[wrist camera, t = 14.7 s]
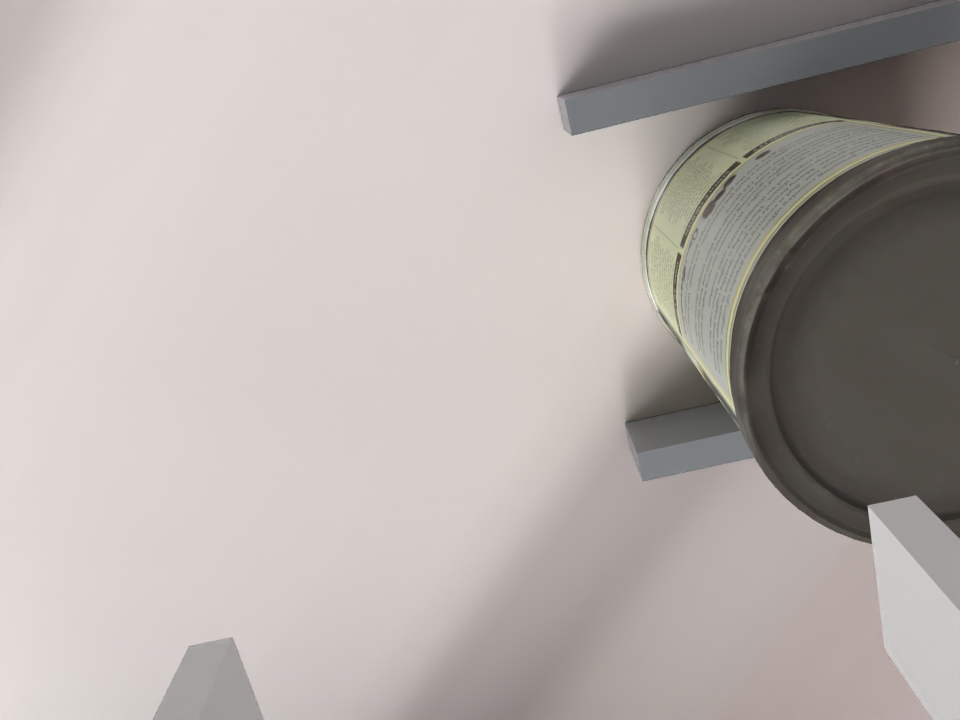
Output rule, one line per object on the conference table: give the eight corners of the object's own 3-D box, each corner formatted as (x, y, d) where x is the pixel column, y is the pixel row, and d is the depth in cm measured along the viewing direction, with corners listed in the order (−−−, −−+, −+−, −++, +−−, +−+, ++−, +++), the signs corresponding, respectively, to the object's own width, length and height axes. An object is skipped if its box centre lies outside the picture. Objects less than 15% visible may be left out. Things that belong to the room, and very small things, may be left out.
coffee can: (931, 109, 33) (1234, 145, 20) (882, 375, 37) (1115, 557, 23) (650, 99, 33) (767, 128, 20) (626, 366, 37) (712, 546, 23)
